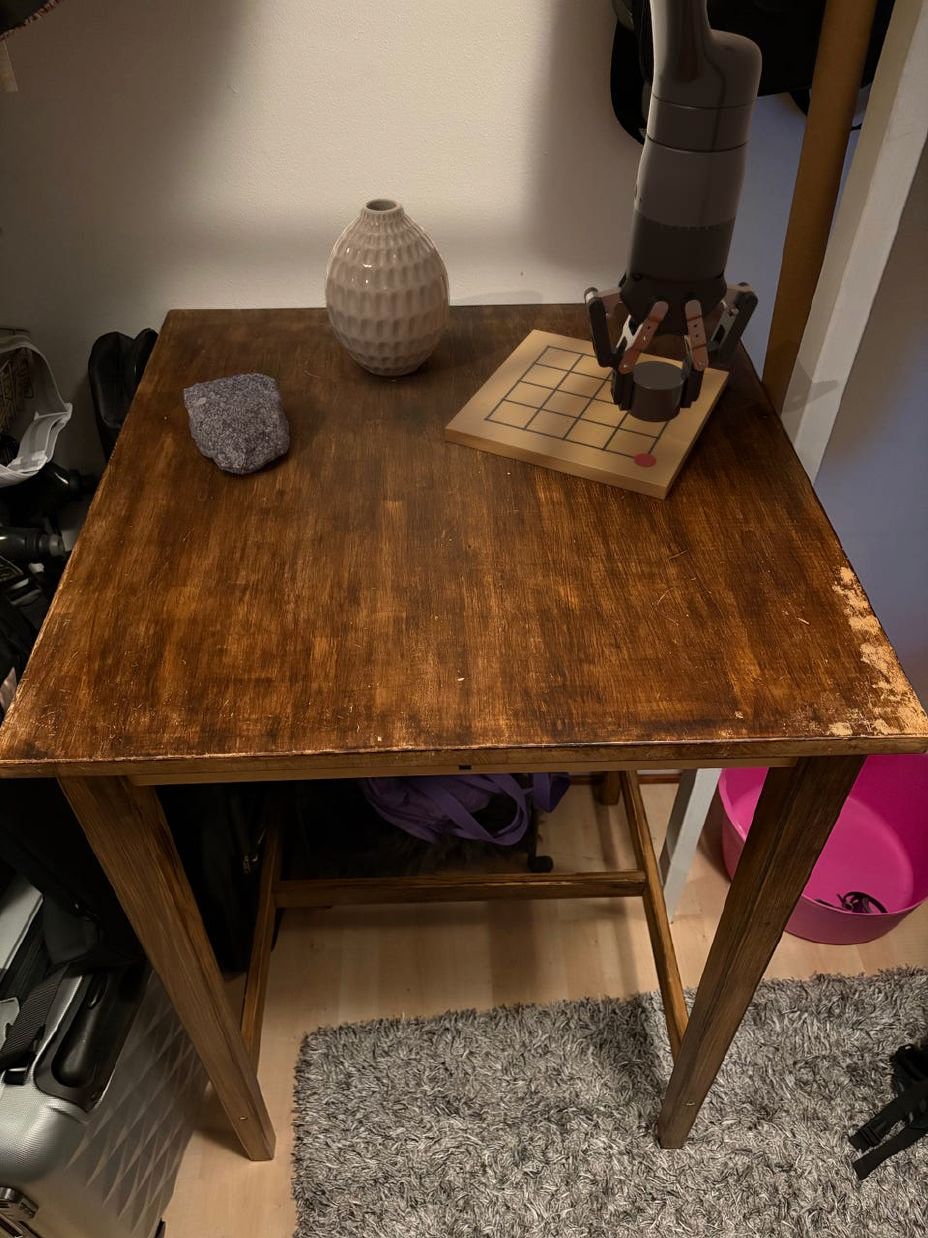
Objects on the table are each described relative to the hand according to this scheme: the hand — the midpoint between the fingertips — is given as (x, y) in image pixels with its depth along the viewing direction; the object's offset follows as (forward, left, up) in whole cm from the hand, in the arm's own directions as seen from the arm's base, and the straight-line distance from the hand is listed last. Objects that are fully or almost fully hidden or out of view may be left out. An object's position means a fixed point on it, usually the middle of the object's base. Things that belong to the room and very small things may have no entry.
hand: (653, 403), depth 79 cm
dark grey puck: (0, 0, 0) cm, 0 cm away
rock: (+36, +11, -8) cm, 38 cm away
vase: (+31, -8, -8) cm, 33 cm away
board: (+8, -8, -7) cm, 13 cm away
